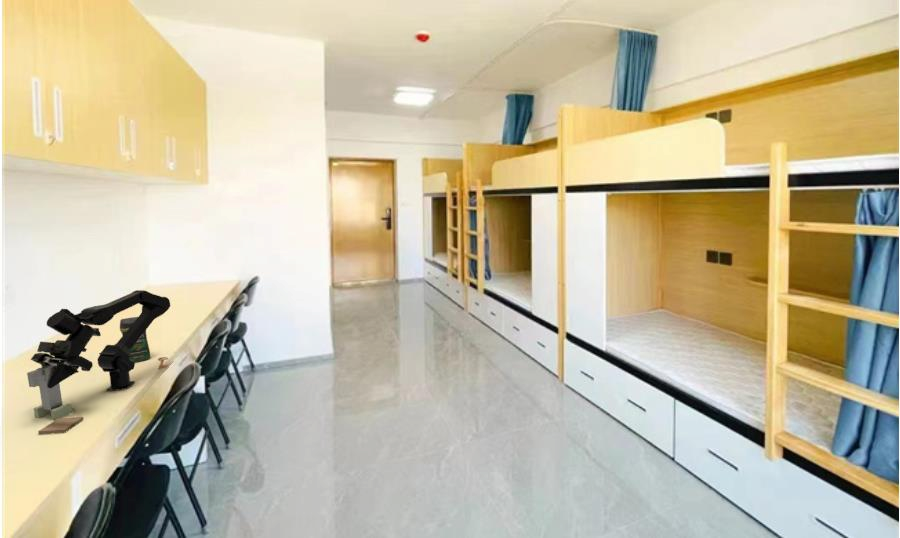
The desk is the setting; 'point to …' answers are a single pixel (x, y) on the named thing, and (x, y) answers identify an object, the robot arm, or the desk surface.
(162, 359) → the key
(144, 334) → the coffee jar
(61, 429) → the walnut board
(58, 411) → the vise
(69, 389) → the desk surface
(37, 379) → the stepped metal bracket
